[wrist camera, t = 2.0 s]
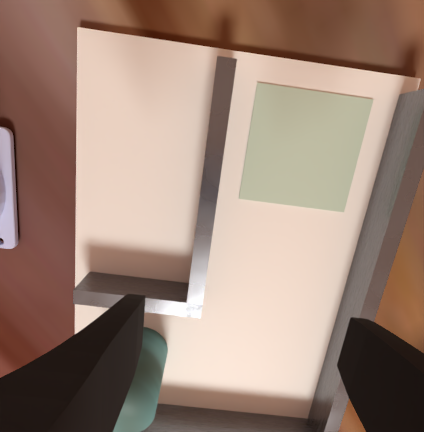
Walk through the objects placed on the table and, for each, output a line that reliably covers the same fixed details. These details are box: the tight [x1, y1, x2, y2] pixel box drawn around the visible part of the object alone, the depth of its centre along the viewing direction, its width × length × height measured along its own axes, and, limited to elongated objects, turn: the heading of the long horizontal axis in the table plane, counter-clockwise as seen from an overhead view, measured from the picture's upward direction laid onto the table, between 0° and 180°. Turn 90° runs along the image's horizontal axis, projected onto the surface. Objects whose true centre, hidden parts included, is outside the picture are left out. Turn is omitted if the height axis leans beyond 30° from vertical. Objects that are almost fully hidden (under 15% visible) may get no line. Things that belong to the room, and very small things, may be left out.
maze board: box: [75, 27, 421, 419], centre depth 20 cm, size 20×28×1 cm
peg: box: [113, 327, 168, 432], centre depth 20 cm, size 4×4×5 cm
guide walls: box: [73, 56, 424, 432], centre depth 19 cm, size 19×26×2 cm
